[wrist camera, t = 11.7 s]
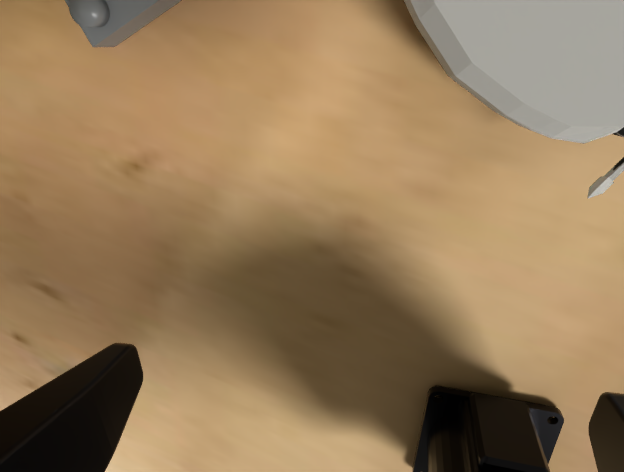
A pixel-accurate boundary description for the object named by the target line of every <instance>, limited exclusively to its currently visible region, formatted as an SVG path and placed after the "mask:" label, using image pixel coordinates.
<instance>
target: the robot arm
mask: <svg viewBox="0 0 624 472" xmlns="http://www.w3.org/2000/svg"><path fill="white" fill-rule="evenodd" d="M142 382H143V371H142V367H141V363H140V359H139V355H138V352H137V349H136V347H135V346H134V345H132V344H125V343H114V344H112V345H110V346H108V347H107V348H105V349H103V350H102V351H100V352H98V353H97V354H95V355H93V356H92V357H90V358H88V359H87V360H85V361H83V362H82V363H80V364H78V365H77V366H75V367H73V368H72V369H70V370H68V371H67V372H65V373H63V374H62V375H60V376H58V377H57V378H55V379H53V380H52V381H50V382H48V383H47V384H45V385H43V386H42V387H40V388H38V389H37V390H35V391H33V392H32V393H30V394H28V395H27V396H25V397H23V398H22V399H20V400H18V401H17V402H15V403H13V404H12V405H10V406H8V407H7V408H5V409H3V410H2V411H0V472H105V470H106V468H107V466H108V464H109V462H110V460H111V458H112V456H113V454H114V452H115V450H116V447H117V445H118V443H119V440H120V438H121V435H122V433H123V430H124V428H125V425H126V423H127V420H128V418H129V415H130V413H131V410H132V408H133V405H134V403H135V400H136V398H137V395H138V393H139V390H140V388H141V385H142ZM436 395H440V396H442V397H440V398H437V397H435V396H436ZM551 416H554V418H549V417H551ZM563 423H564V418H563V416H562V414H561V411H560V410H559V409H558V408H555V407H552V406H546V405H541V404H535V403H529V402H524V401H518V400H513V399H507V398H502V397H496V396H491V395H485V394H480V393H474V392H469V391H463V390H457V389H452V388H446V387H441V386H435V387H432V388H431V389H429V392H428V396H427V401H426V405H425V410H424V415H423V420H422V425H421V430H420V434H419V439H418V444H417V449H416V454H415V459H414V463H413V472H550V469H549V466H548V463H549V460H550V458H551V455H552V452H553V450H554V447H555V444H556V441H557V439H558V436H559V433H560V431H561V428H562V425H563ZM589 437H590V441H591V445H592V449H593V453H594V457H595V461H596V465H597V469H598V472H624V394H620V393H610V392H605V393H603V394H601V395H600V397H599V399H598V402H597V404H596V407H595V409H594V412H593V414H592V417H591V419H590V422H589Z"/></svg>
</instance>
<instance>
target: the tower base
mask: <svg viewBox="0 0 624 472" xmlns="http://www.w3.org/2000/svg"><path fill="white" fill-rule="evenodd" d="M180 1H181V0H65V2H66V3H67V5H68V7H69V10H70V14H71V16H72V18H73V19H74V21H75V22H76V23H78V24H79V25H80V27H81V28H82V30H83V32H84V33H85V35H86V36H87V38H88V40H89V41H90V43H91V45H92V46H93V47H115V46H116V45H118V44H119V43H121V42H122V41H124V40H125V39H127V38H128V37H129V36H131V35H132V34H134V33H135V32H137V31H138V30H140V29H141V28H142V27H144V26H145V25H147V24H148V23H150V22H151V21H153V20H154V19H155V18H157V17H158V16H160V15H161V14H163V13H164V12H165V11H167V10H168V9H170V8H171V7H173V6H174V5H176V4H177V3H178V2H180Z"/></svg>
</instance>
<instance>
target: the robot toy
mask: <svg viewBox="0 0 624 472" xmlns="http://www.w3.org/2000/svg"><path fill="white" fill-rule="evenodd" d="M404 2H405V4H406V6H407V8H408V10H409V13H410V15H411V17H412V19H413V21H414V23H415V25H416V27H417V28H418V30H419V32H420V33H421V35H422V36H423V38H424V39H425V41H426V42H427V44H428V46H429V47H430V49H431V50H432V52H433V53H434V55H435V56H436V58H437V60H438V61H439V63H440V64H441V66H442V67H443V69H444V70H445V72H446V74H447V75H448V76H449V77H450V78H451V79H453V80H454V81H455V82H457V83H458V84H459V85H461V86H462V87H463V88H464V89H466V90H467V91H468V92H470V93H471V94H472V95H473V96H475V97H476V98H477V99H479V100H480V101H481V102H483V103H484V104H485V105H486V106H488V107H489V108H490V109H492V110H493V111H494V112H496V113H498V114H500V115H501V116H503V117H505V118H507V119H508V120H510V121H512V122H514V123H515V124H517V125H519V126H522V127H524V128H527V129H529V130H531V131H534V132H536V133H539V134H541V135H544V136H547V137H549V138H553V139H559V140H565V141H572V142H578V143H587V142H590V141H593V140H596V139H598V138H601V137H604V136H607V135H610V134H614V135H618V136H622V137H624V0H404ZM623 171H624V157H623V158H622V159H621V160H620V161H619V162H618V163H617V164H616V165H615V166H614V167H613V168H612V169H611V170H610V171H609V172H608V173H607V174H606V175H605V176H603V177H600V178H599V179H598V180H597V181H596V182H594V183H593V184H592V185H591V186H590V188H589V193H588V198H590V197H593V196H596V195H599V194H602V193H604V192H605V191H606V190H607V189H608V188H609V187H610V186H611V185H612V184H613V183H614V182H613V180H614V179H615V178H616V177H618V176H619V175H620V174H621V173H622V172H623Z"/></svg>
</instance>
